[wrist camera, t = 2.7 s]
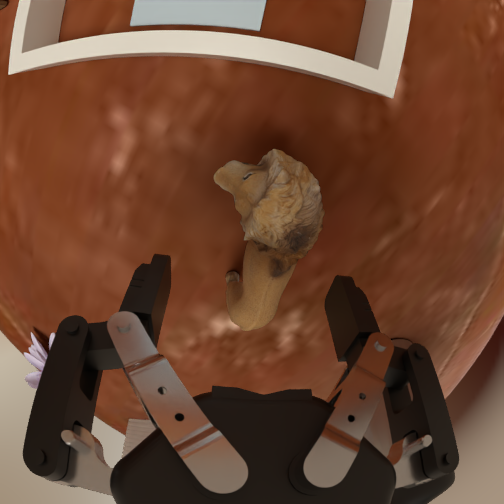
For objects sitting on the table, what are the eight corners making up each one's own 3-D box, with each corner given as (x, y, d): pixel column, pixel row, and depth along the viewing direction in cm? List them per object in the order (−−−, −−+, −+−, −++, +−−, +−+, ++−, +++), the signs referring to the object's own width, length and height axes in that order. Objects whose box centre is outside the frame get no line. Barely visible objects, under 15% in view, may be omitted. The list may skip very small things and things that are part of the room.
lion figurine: (225, 123, 16) (205, 169, 9) (310, 129, 17) (360, 180, 9) (224, 296, 25) (217, 387, 18) (284, 298, 25) (295, 387, 18)
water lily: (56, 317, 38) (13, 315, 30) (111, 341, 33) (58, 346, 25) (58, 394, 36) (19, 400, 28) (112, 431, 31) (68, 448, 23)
